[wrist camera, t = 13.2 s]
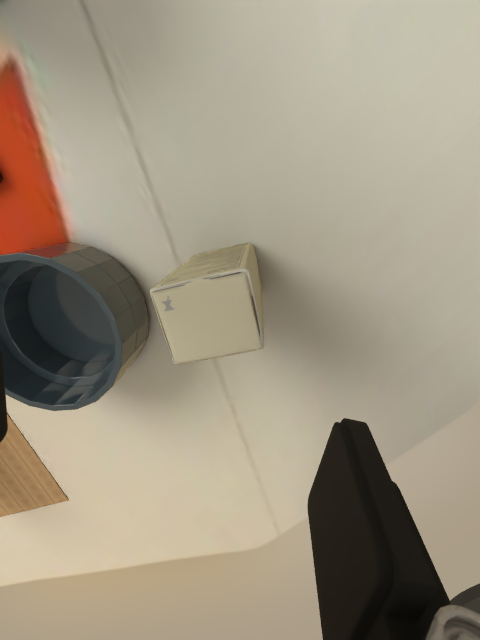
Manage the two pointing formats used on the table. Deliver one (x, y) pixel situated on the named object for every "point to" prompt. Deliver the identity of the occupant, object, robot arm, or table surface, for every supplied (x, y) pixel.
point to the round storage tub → (67, 324)
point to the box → (212, 305)
